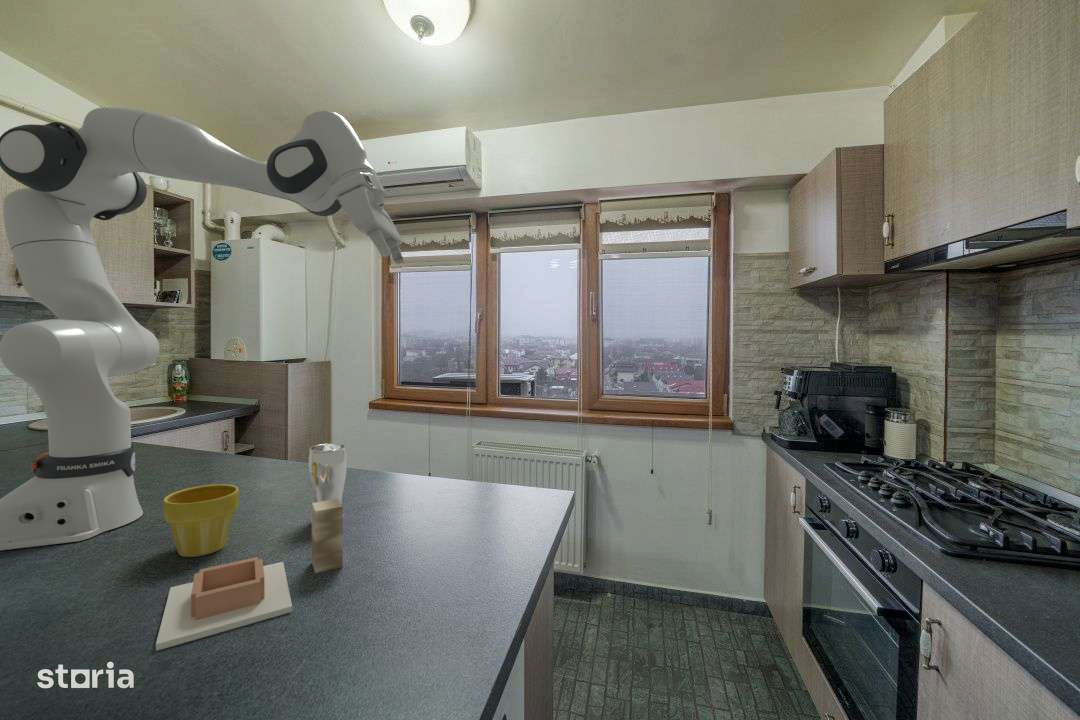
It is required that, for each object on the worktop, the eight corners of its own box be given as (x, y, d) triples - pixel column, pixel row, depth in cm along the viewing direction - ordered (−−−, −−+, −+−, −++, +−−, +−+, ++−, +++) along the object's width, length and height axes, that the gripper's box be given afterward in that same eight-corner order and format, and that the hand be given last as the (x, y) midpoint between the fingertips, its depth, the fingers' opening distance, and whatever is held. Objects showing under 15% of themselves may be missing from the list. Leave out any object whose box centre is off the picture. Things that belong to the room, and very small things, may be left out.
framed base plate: (155, 650, 52) (155, 619, 51) (170, 592, 63) (170, 566, 63) (292, 611, 60) (292, 584, 59) (283, 566, 71) (283, 543, 71)
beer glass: (331, 529, 85) (331, 452, 85) (299, 525, 87) (300, 449, 86) (353, 515, 92) (353, 444, 91) (323, 511, 93) (324, 441, 93)
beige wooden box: (315, 573, 69) (315, 511, 69) (311, 562, 73) (311, 503, 72) (342, 566, 72) (342, 506, 71) (337, 556, 75) (338, 498, 74)
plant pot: (198, 534, 82) (197, 482, 81) (252, 536, 81) (252, 484, 81) (146, 562, 71) (145, 502, 71) (208, 564, 71) (208, 505, 71)
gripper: (365, 215, 97) (394, 272, 98) (324, 184, 76) (362, 257, 78) (391, 203, 97) (419, 260, 98) (357, 169, 76) (394, 242, 78)
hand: (394, 259), depth 88 cm, fingers open, 8 cm apart
